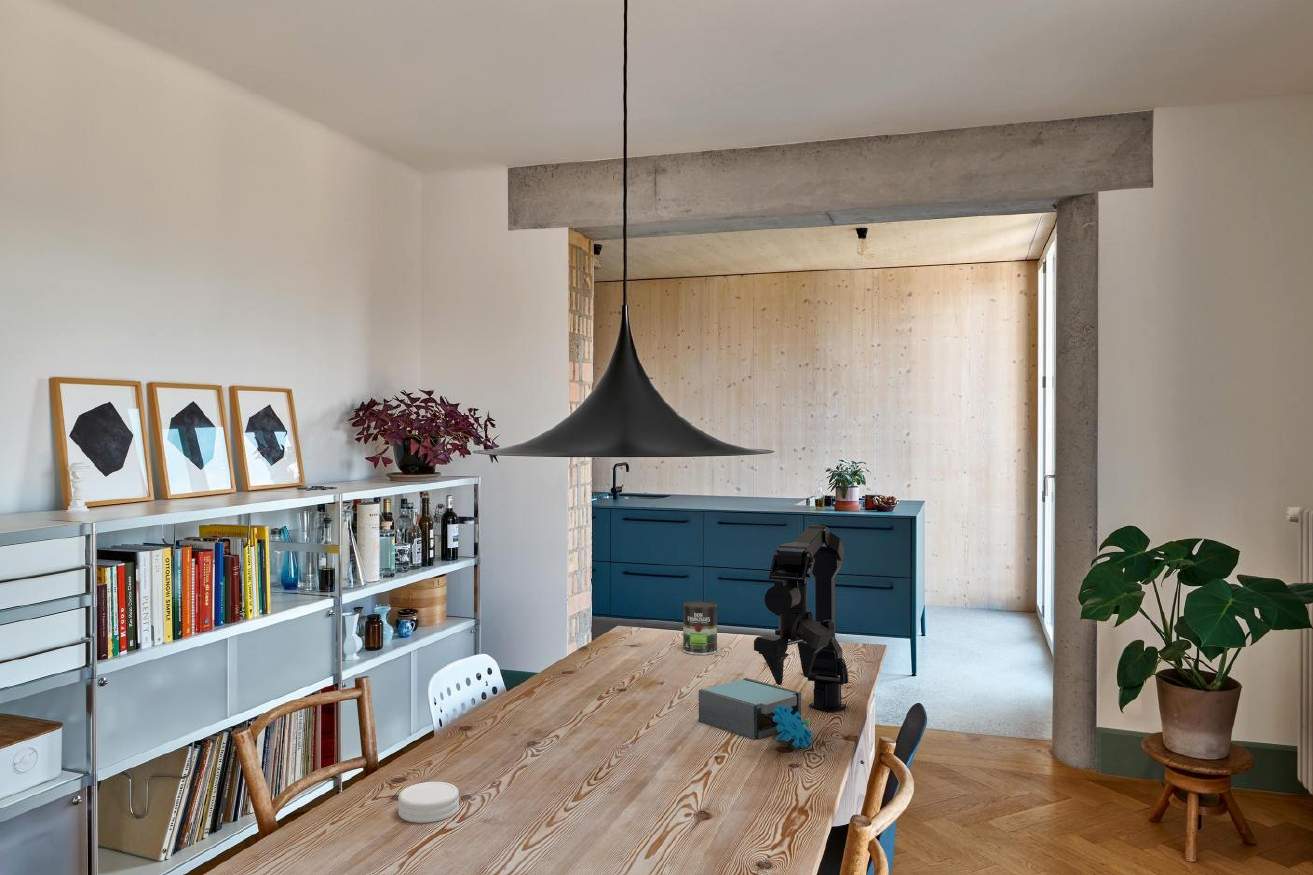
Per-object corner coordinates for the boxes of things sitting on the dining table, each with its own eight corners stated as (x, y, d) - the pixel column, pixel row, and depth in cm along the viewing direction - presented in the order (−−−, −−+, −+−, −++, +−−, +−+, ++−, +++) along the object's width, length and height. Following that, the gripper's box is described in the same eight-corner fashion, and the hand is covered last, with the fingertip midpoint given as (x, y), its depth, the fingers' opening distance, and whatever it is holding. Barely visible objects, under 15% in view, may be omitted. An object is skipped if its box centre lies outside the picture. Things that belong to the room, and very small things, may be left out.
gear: (794, 747, 182) (768, 704, 188) (775, 763, 185) (751, 720, 190) (825, 742, 190) (799, 700, 196) (806, 757, 192) (782, 716, 198)
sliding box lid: (742, 687, 214) (742, 679, 214) (801, 703, 201) (801, 694, 201) (703, 698, 205) (703, 689, 205) (761, 715, 192) (761, 705, 192)
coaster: (402, 828, 148) (402, 807, 148) (394, 805, 157) (394, 785, 157) (464, 818, 152) (464, 797, 152) (452, 796, 161) (452, 777, 161)
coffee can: (715, 656, 265) (715, 607, 265) (680, 654, 267) (680, 606, 267) (719, 647, 275) (719, 601, 275) (685, 646, 277) (685, 600, 277)
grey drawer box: (746, 707, 214) (746, 677, 214) (803, 724, 202) (803, 692, 202) (698, 721, 204) (698, 689, 204) (755, 740, 191) (755, 706, 191)
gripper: (794, 617, 177) (794, 697, 177) (852, 605, 190) (852, 680, 190) (751, 609, 186) (751, 686, 186) (809, 598, 198) (809, 670, 198)
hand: (793, 680), depth 190 cm, fingers open, 8 cm apart
